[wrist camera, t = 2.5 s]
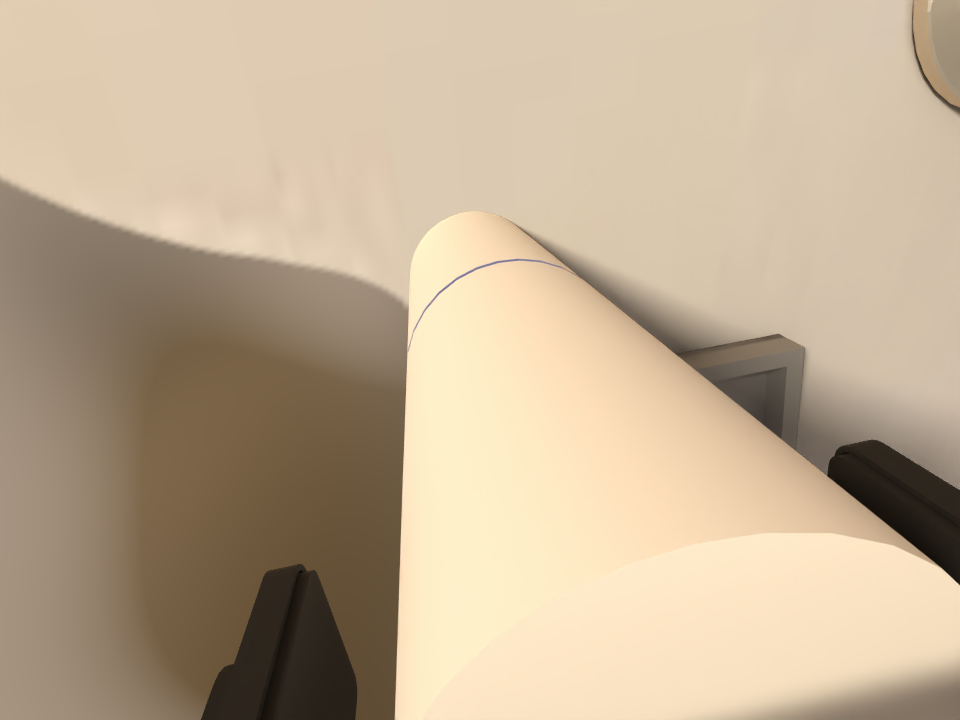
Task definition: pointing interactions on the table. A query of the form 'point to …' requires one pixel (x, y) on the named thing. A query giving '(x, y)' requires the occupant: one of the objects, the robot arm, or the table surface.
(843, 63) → the table surface
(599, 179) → the table surface
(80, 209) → the table surface
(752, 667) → the cylindrical container
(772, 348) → the desk tray
